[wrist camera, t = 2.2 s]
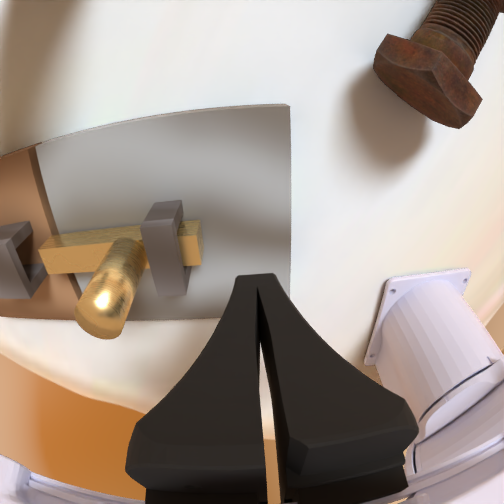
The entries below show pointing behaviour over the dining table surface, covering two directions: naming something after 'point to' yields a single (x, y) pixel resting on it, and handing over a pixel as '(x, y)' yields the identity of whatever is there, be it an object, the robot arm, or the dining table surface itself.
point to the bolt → (440, 60)
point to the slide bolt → (111, 269)
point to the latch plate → (152, 207)
